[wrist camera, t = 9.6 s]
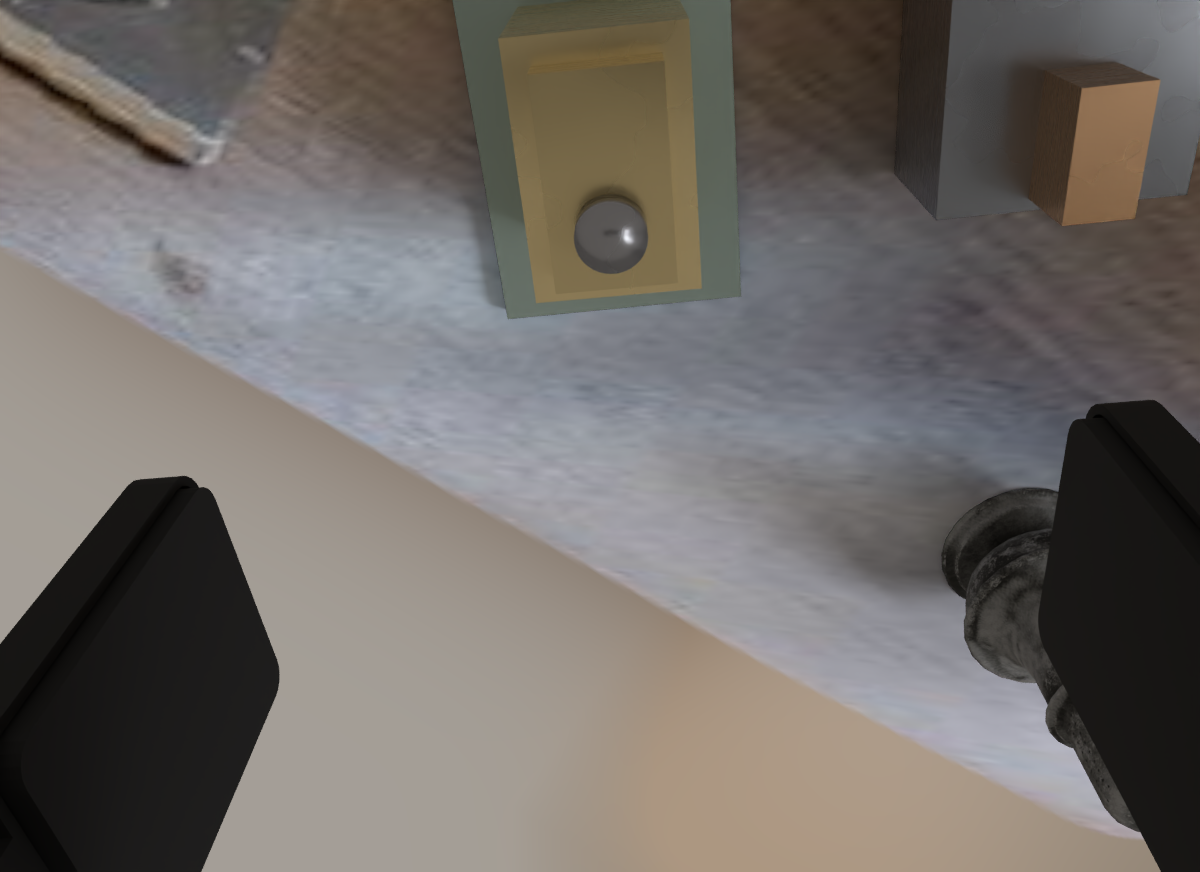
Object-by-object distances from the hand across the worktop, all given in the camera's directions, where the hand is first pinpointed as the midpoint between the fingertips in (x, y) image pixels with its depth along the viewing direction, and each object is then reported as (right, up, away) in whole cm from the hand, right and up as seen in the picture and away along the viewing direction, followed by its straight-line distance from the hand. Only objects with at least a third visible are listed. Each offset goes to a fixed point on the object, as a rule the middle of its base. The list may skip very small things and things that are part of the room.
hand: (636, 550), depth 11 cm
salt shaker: (+14, -3, +23) cm, 28 cm away
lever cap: (0, +10, +15) cm, 18 cm away
